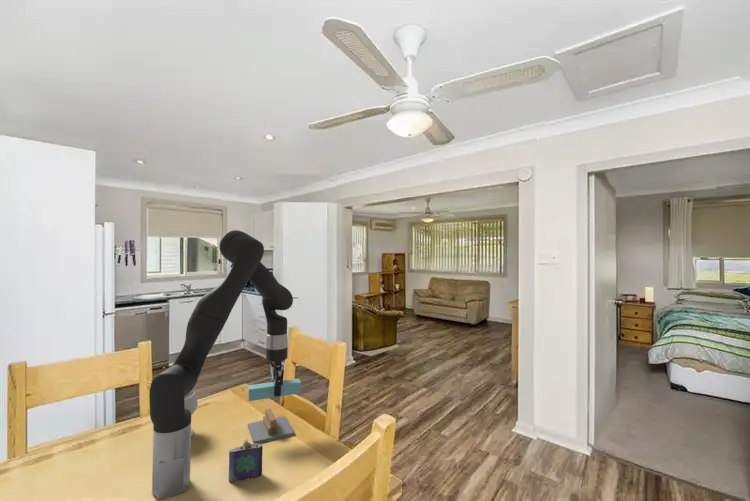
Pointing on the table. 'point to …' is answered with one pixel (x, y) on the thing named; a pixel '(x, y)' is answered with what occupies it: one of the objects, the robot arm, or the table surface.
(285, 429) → the fulcrum
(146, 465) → the table surface
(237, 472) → the flask
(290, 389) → the batten
